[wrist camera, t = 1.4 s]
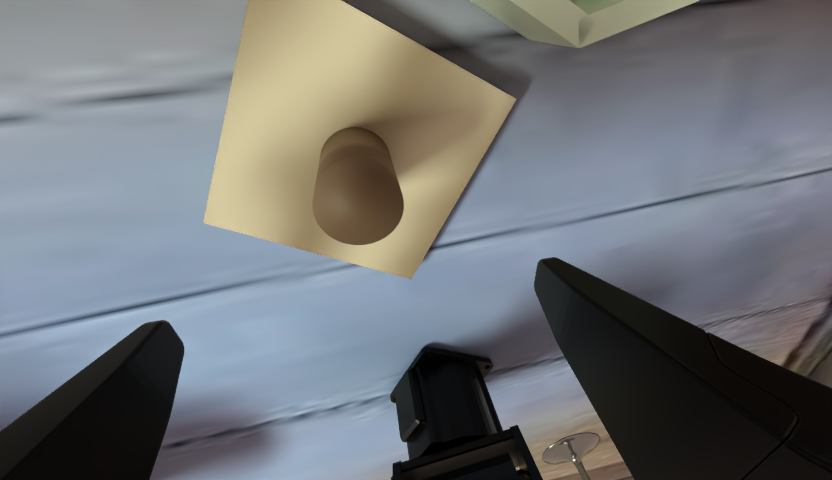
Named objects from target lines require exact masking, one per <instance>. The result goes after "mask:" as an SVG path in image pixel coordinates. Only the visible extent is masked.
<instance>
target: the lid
mask: <svg viewBox="0 0 832 480" xmlns="http://www.w3.org/2000/svg"><path fill="white" fill-rule="evenodd" d="M516 100H517V99H516V98H514V97H512V96H510V95H509V94H507V93H505V92H503V91H501V90H500V89H498V88H496V87H494V86H493V85H491V84H489V83H487V82H486V81H484V80H482V79H480V78H478V77H477V76H475V75H473V74H471V73H470V72H468V71H466V70H464V69H462V68H461V67H459V66H457V65H455V64H454V63H452V62H450V61H448V60H446V59H445V58H443V57H441V56H439V55H438V54H436V53H434V52H432V51H430V50H429V49H427V48H425V47H423V46H422V45H420V44H418V43H416V42H414V41H413V40H411V39H409V38H407V37H406V36H404V35H402V34H400V33H399V32H397V31H395V30H393V29H391V28H390V27H388V26H386V25H384V24H383V23H381V22H379V21H377V20H375V19H374V18H372V17H370V16H368V15H367V14H365V13H363V12H361V11H359V10H358V9H356V8H354V7H352V6H351V5H349V4H347V3H345V2H343V1H342V0H248V4H247V9H246V14H245V19H244V24H243V29H242V34H241V39H240V44H239V49H238V53H237V58H236V63H235V68H234V73H233V78H232V83H231V88H230V93H229V98H228V103H227V108H226V112H225V117H224V122H223V127H222V132H221V137H220V142H219V147H218V152H217V157H216V162H215V167H214V172H213V176H212V181H211V186H210V191H209V196H208V201H207V206H206V211H205V216H204V221H203V223H206V224H209V225H213V226H217V227H220V228H224V229H228V230H231V231H235V232H239V233H242V234H246V235H250V236H254V237H257V238H261V239H265V240H268V241H272V242H276V243H279V244H283V245H287V246H290V247H294V248H298V249H301V250H305V251H309V252H313V253H316V254H320V255H324V256H327V257H331V258H335V259H338V260H342V261H346V262H349V263H353V264H357V265H360V266H364V267H368V268H372V269H375V270H379V271H383V272H386V273H390V274H394V275H397V276H401V277H405V278H408V279H412V277H413V275H414V273H415V272H416V270H417V268H418V267H419V265H420V263H421V261H422V260H423V258H424V256H425V255H426V253H427V251H428V250H429V248H430V246H431V244H432V243H433V241H434V239H435V238H436V236H437V234H438V233H439V231H440V229H441V227H442V226H443V224H444V222H445V221H446V219H447V217H448V215H449V214H450V212H451V210H452V209H453V207H454V205H455V204H456V202H457V200H458V198H459V197H460V195H461V193H462V192H463V190H464V188H465V186H466V185H467V183H468V181H469V180H470V178H471V176H472V175H473V173H474V171H475V169H476V168H477V166H478V164H479V163H480V161H481V159H482V158H483V156H484V154H485V152H486V151H487V149H488V147H489V146H490V144H491V142H492V140H493V139H494V137H495V135H496V134H497V132H498V130H499V129H500V127H501V125H502V123H503V122H504V120H505V118H506V117H507V115H508V113H509V111H510V110H511V108H512V106H513V105H514V103H515V101H516Z"/></svg>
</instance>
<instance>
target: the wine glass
mask: <svg viewBox="0 0 832 480" xmlns="http://www.w3.org/2000/svg"><path fill="white" fill-rule="evenodd" d="M599 442H600V438H599V436H598V435H596V434H594V433H580V434H575V435H572V436H569V437H566V438H564V439H561V440H559V441H557V442H556V443H554V444H553V445H551V446H550V447H549V448H547V450H546V451H545V452H544V453H543V456H542V459H543V461H544V462H545V463H547V464H553V465H557V464H564V463H569V462H572V463H574V464H575V466H576V468H577V469H578V471H579V473H580V475H581V477H582V479H583V480H591V479H590V478H589V476H588V474H587V472H586V470H585V468H584V466H583V464H582V461H581V458H582V457H584V456H586V455H587V454H589V453H590V452H592V451H593V450H594V449H595V448H596V447H597V446H598V444H599Z"/></svg>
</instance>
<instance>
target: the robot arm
mask: <svg viewBox="0 0 832 480" xmlns="http://www.w3.org/2000/svg"><path fill="white" fill-rule="evenodd" d="M534 288H535V292H536V295H537V297H538V299H539V302H540V304H541V306H542V309H543V311H544V313H545V316H546V318H547V320H548V323H549V325H550V327H551V330H552V332H553V334H554V337H555V339H556V341H557V343H558V345H559V347H560V349H561V351H562V352H563V354H564V356H565V358H566V359H567V361H568V363H569V365H570V367H571V368H572V370H573V372H574V374H575V375H576V377H577V379H578V381H579V382H580V384H581V386H582V388H583V389H584V391H585V393H586V395H587V397H588V398H589V400H590V402H591V404H592V405H593V407H594V409H595V411H596V412H597V414H598V416H599V418H600V419H601V421H602V423H603V425H604V427H605V428H606V430H607V432H608V434H609V435H610V437H611V439H612V441H613V442H614V444H615V446H616V448H617V449H618V451H619V453H620V455H621V456H622V458H623V460H624V462H625V464H626V465H627V467H628V469H629V471H630V472H631V474H632V476H633V478H634V479H635V480H832V388H830V387H828V386H825V385H823V384H821V383H818V382H816V381H814V380H811V379H809V378H807V377H804V376H802V375H800V374H798V373H795V372H793V371H791V370H788V369H786V368H784V367H782V366H779V365H777V364H775V363H773V362H770V361H768V360H766V359H764V358H761V357H759V356H757V355H755V354H753V353H751V352H749V351H747V350H744V349H742V348H740V347H738V346H736V345H734V344H732V343H730V342H728V341H726V340H724V339H721V338H719V337H717V336H715V335H713V334H711V333H709V332H707V333H706V332H705V331H704V330H703V329H701V328H699V327H697V326H695V325H693V324H691V323H689V322H687V321H685V320H683V319H681V318H679V317H676V316H674V315H672V314H670V313H668V312H666V311H664V310H662V309H660V308H658V307H656V306H654V305H652V304H650V303H648V302H646V301H644V300H642V299H640V298H638V297H636V296H634V295H632V294H630V293H628V292H626V291H624V290H621V289H619V288H617V287H615V286H613V285H611V284H609V283H607V282H605V281H603V280H601V279H599V278H597V277H595V276H593V275H591V274H589V273H587V272H585V271H583V270H581V269H579V268H577V267H575V266H573V265H571V264H568V263H566V262H564V261H562V260H560V259H558V258H555V257H552V258H545V259H541V260H540V261H539V262H538V264H537V270H536V276H535V282H534ZM183 356H184V345H183V342H182V341H181V339H180V338H179V336H178V335H177V333H176V332H175V330H174V329H173V327H172V326H171V325H170V323H169V322H167V321H165V320H160V321H154V322H148V323H145V324H143V325H141V326H140V327H139V328H137V329H136V330H135V331H133V332H132V333H131V334H129V335H128V336H127V337H125V338H124V339H123V340H121V341H120V342H119V343H117V344H116V345H115V346H113V347H112V348H111V349H109V350H108V351H107V352H105V353H104V354H103V355H101V356H100V357H99V358H97V359H96V360H95V361H93V362H92V363H91V364H89V365H88V366H87V367H85V368H84V369H83V370H81V371H80V372H79V373H77V374H76V375H75V376H73V377H72V378H71V379H70V380H68V381H67V382H66V383H64V384H63V385H62V386H60V387H59V388H58V389H56V390H55V391H54V392H52V393H51V394H50V395H48V396H47V397H46V398H44V399H43V400H42V401H40V402H39V403H38V404H36V405H35V406H34V407H32V408H31V409H30V410H28V411H27V412H26V413H24V414H23V415H22V416H20V417H19V418H18V419H16V420H15V421H14V422H12V423H11V424H10V425H8V426H7V427H6V428H4V429H3V430H2V431H0V480H149V479H150V476H151V473H152V470H153V467H154V464H155V461H156V458H157V455H158V452H159V449H160V446H161V443H162V440H163V437H164V434H165V431H166V428H167V425H168V422H169V418H170V415H171V411H172V407H173V402H174V398H175V393H176V388H177V384H178V379H179V374H180V370H181V365H182V361H183ZM492 368H493V363H492V361H491V360H490V359H487V358H481V357H476V356H471V355H466V354H461V353H455V352H450V351H445V350H440V349H435V348H428V347H427V348H424V349H422V350H421V351H420V353H419V354H418V355H417V357H416V358H415V360H414V361H413V363H412V364H411V366H410V367H409V368H408V370H407V371H406V372H405V374H404V375H403V377H402V378H401V380H400V381H399V383H398V384H397V385H396V387H395V389H394V390H393V392H392V393H391V395H390V397H391V402H393V403H396V407H397V414H398V422H399V430H400V438H401V440H402V441H403V442H407V447H408V454H409V460H408V461H404V462H401V461H399V462H396V463H393V476H392V477H391V480H543V479H542V477H541V475H540V472H539V470H538V468H537V466H536V464H535V462H534V460H533V457H532V455H531V453H530V451H529V449H528V447H527V444H526V442H525V440H524V438H523V436H522V434H521V431H520V429H519V427H518V425H515V426H512V427H510V429H508V430H504V431H503V429H502V427H501V424H500V421H499V419H498V416H497V413H496V411H495V408H494V405H493V403H492V400H491V397H490V394H489V392H488V389H487V386H486V384H485V381H484V377H485V376H486V375H487V374H488V372H489V371H490V370H491V369H492ZM518 466H519V467H520V470H517V471H516V468H515V467H518Z"/></svg>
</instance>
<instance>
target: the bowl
mask: <svg viewBox="0 0 832 480" xmlns="http://www.w3.org/2000/svg"><path fill="white" fill-rule="evenodd" d="M469 1H471V2H472V3H474V4H475V5H477V6H478V7H480V8H481V9H483V10H484V11H486V12H488V13H489V14H491V15H492V16H494V17H495V18H497V19H498V20H500V21H501V22H503V23H504V24H506V25H507V26H509V27H510V28H512V29H513V30H515V31H516V32H518V33H519V34H521V35H522V36H524V37H526V38H527V39H529V40H533V41H539V42H545V43H551V44H556V45H562V46H568V47H574V48H582V47H584V46H587V45H589V44H592V43H594V42H597V41H599V40H602V39H604V38H607V37H609V36H612V35H614V34H617V33H619V32H622V31H624V30H627V29H629V28H632V27H634V26H637V25H639V24H642V23H644V22H647V21H649V20H652V19H654V18H657V17H659V16H662V15H664V14H667V13H670V12H672V11H675V10H677V9H680V8H682V7H685V6H687V5H690V4H692V3H695V2H697V1H699V0H469Z"/></svg>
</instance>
